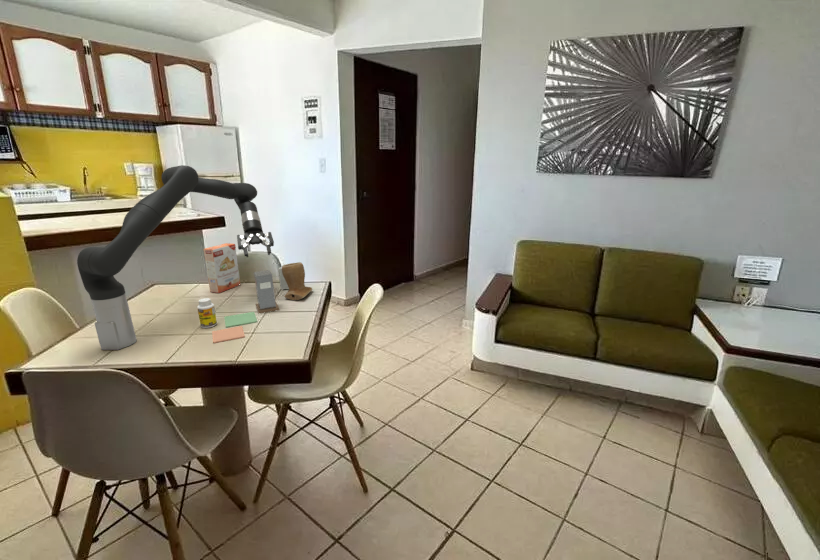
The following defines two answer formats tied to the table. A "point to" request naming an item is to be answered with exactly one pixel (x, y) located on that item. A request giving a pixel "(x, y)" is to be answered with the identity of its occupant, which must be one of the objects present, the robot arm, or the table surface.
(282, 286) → the small box
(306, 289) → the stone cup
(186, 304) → the table surface
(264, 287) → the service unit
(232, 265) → the cracker box
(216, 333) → the terracotta pad
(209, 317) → the supplement bottle
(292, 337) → the table surface
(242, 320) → the green pad
